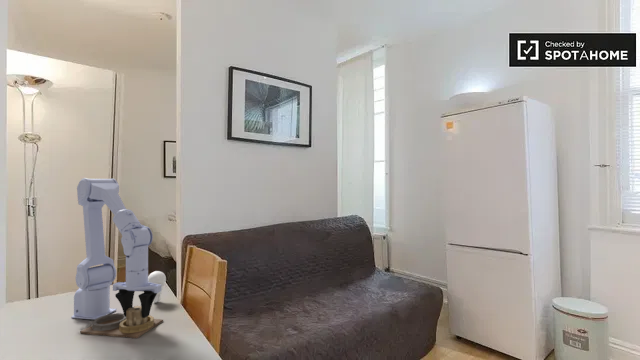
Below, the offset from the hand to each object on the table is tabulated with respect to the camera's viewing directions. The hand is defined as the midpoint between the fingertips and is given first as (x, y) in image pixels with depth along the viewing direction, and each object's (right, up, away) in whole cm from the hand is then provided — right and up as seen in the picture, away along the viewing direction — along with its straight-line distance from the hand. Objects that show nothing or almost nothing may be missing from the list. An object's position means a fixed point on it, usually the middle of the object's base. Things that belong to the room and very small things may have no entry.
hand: (137, 315), depth 95 cm
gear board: (-4, -4, +1) cm, 6 cm away
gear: (0, -2, 0) cm, 2 cm away
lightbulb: (-5, -4, +21) cm, 22 cm away
